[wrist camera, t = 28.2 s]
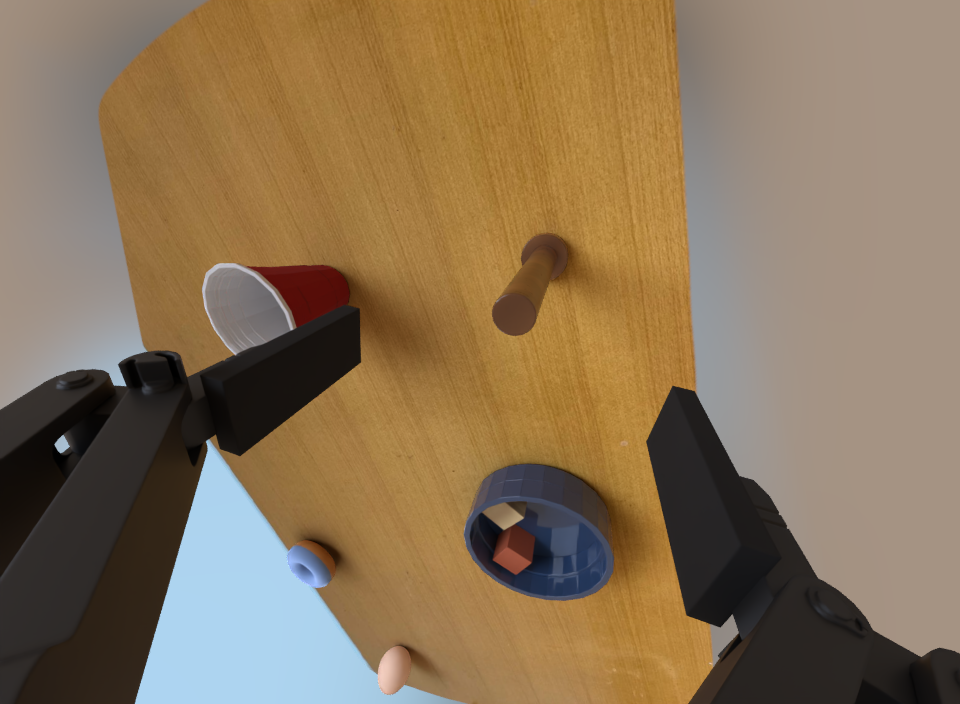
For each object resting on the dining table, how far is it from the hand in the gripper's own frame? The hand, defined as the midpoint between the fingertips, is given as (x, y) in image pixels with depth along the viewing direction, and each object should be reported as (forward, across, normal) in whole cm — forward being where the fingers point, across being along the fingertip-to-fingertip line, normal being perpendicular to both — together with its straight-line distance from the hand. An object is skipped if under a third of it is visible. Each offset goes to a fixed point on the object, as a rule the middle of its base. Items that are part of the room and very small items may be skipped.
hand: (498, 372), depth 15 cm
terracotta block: (+22, +4, -39) cm, 46 cm away
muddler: (+23, -1, +1) cm, 23 cm away
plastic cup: (+23, -26, -8) cm, 35 cm away
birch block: (+22, +2, -31) cm, 38 cm away
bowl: (+23, +6, -34) cm, 42 cm away
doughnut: (+23, -32, -64) cm, 75 cm away
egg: (+23, -12, -88) cm, 92 cm away
